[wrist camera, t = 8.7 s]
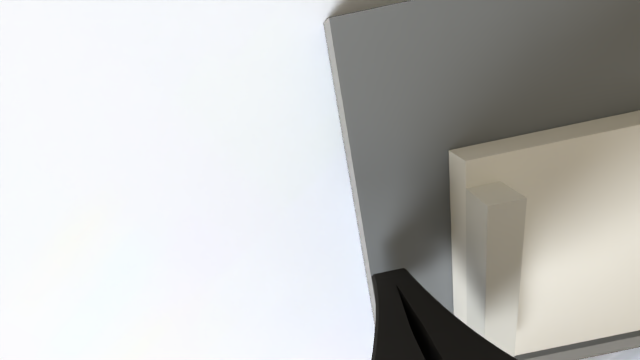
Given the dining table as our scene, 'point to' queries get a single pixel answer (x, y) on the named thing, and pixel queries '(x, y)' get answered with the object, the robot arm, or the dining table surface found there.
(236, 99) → the dining table surface
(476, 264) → the cover
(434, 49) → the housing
